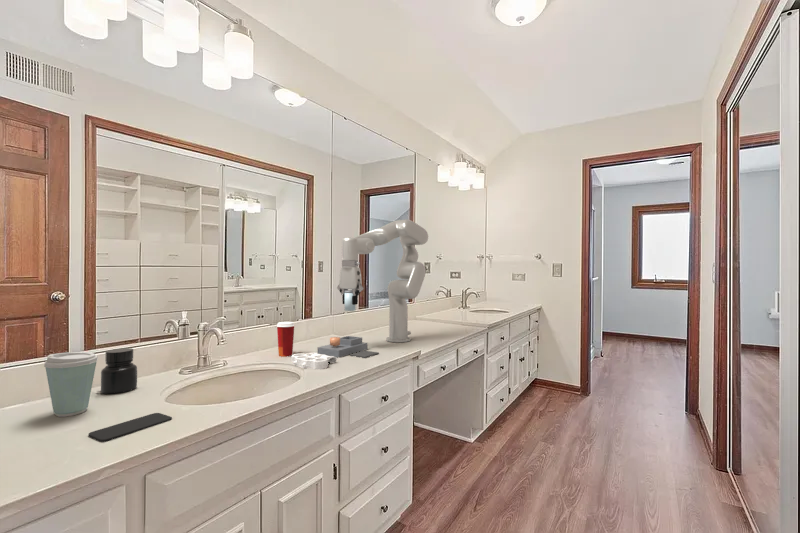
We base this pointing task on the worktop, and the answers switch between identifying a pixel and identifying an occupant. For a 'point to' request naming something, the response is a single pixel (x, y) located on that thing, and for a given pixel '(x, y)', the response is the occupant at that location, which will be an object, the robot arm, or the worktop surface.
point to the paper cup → (285, 338)
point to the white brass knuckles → (312, 360)
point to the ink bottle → (119, 372)
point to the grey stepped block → (344, 347)
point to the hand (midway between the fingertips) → (350, 303)
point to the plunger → (335, 341)
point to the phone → (128, 427)
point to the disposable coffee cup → (70, 381)
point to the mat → (364, 354)
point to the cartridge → (349, 301)
